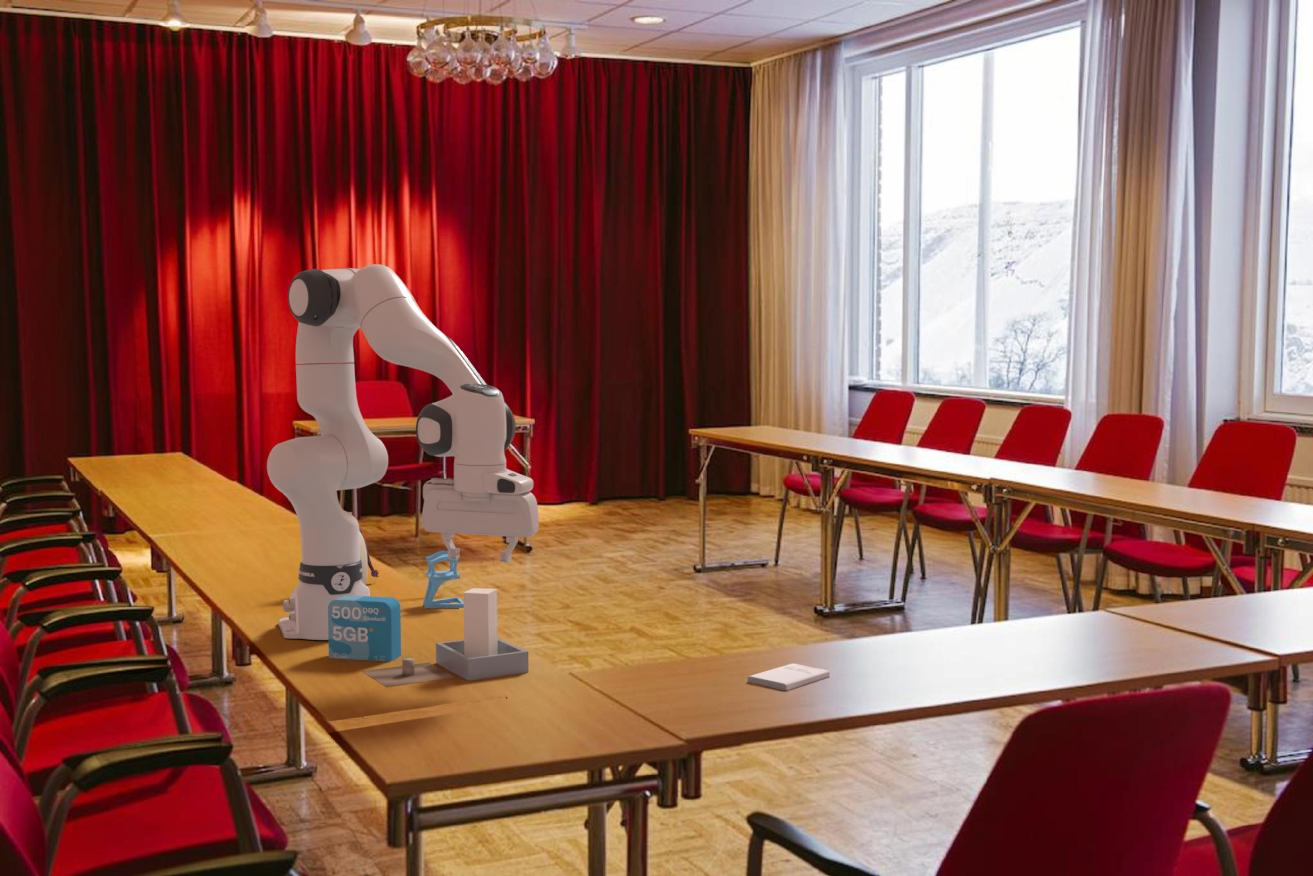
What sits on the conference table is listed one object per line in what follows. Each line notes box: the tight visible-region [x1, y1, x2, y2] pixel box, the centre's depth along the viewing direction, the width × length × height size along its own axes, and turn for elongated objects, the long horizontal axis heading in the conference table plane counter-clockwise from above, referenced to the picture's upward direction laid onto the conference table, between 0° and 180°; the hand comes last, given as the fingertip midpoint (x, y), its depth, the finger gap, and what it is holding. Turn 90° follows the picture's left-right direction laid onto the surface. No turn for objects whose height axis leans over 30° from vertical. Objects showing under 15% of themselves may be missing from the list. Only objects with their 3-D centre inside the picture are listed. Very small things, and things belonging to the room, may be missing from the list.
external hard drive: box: [747, 663, 830, 691], centre depth 231 cm, size 2×8×12 cm
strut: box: [463, 587, 499, 658], centre depth 232 cm, size 4×4×14 cm
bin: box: [435, 637, 529, 682], centre depth 232 cm, size 14×11×5 cm
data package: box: [327, 595, 402, 662], centre depth 240 cm, size 12×4×12 cm, turn 77°
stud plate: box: [362, 657, 456, 688], centre depth 228 cm, size 12×12×4 cm
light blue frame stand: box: [422, 550, 464, 609], centre depth 292 cm, size 8×8×12 cm
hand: (479, 560), depth 231 cm, fingers open, 8 cm apart
